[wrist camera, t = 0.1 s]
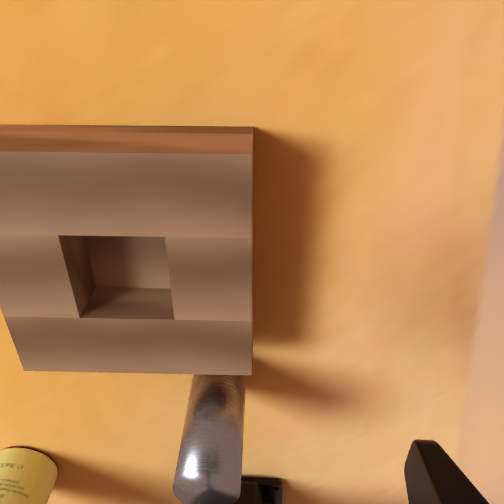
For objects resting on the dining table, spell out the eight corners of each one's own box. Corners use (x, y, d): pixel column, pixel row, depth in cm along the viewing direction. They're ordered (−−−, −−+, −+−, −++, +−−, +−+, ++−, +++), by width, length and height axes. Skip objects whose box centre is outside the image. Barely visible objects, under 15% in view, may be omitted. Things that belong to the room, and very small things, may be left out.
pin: (246, 383, 29) (240, 510, 22) (197, 382, 29) (176, 508, 22) (246, 347, 27) (239, 472, 21) (193, 346, 27) (169, 470, 21)
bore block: (253, 329, 27) (251, 375, 24) (50, 326, 27) (24, 370, 24) (253, 126, 20) (251, 154, 17) (-12, 124, 20) (-59, 151, 17)
